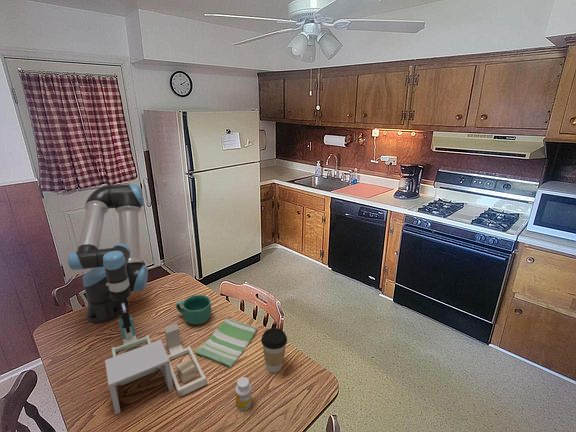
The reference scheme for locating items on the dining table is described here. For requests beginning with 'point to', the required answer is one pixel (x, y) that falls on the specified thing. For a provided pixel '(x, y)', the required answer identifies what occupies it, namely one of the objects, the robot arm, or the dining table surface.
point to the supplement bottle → (243, 394)
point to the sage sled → (130, 343)
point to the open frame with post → (176, 351)
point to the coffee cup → (274, 348)
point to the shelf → (136, 367)
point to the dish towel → (227, 342)
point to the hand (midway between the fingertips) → (128, 334)
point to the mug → (195, 309)
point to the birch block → (186, 370)
